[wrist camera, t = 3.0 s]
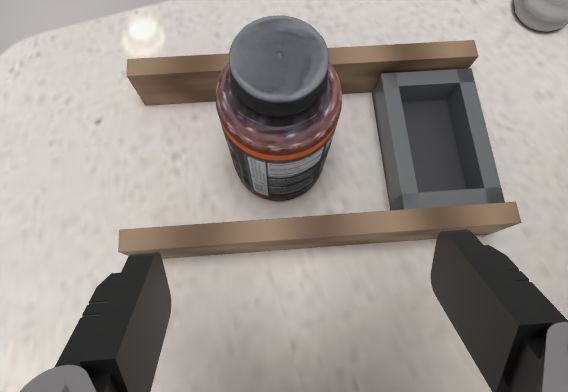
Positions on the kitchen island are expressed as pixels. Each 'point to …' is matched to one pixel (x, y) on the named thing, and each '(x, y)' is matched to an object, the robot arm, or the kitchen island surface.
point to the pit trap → (434, 140)
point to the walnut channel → (312, 229)
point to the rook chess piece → (542, 14)
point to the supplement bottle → (278, 105)
